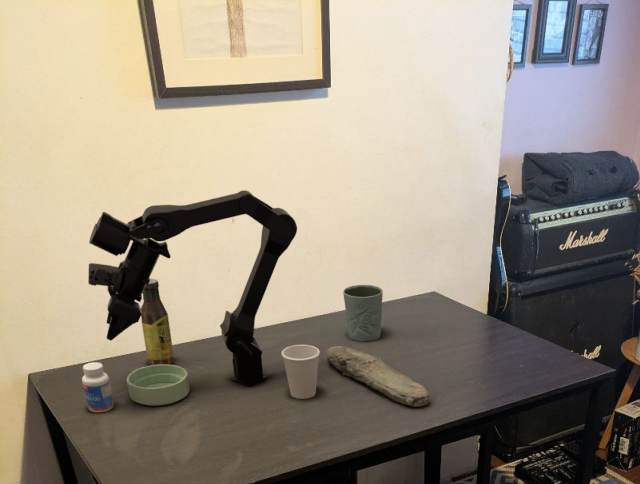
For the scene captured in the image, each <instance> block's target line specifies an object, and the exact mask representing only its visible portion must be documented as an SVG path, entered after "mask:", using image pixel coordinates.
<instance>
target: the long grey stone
mask: <svg viewBox="0 0 640 484" xmlns="http://www.w3.org/2000/svg"><path fill="white" fill-rule="evenodd" d="M326 361H327V363H330V364H331V365H332V366H333V367H335V369H337V370H339V371H340V372H342V376H347V377H349V378H353V379H354V380H356V381H358V382H360V383H364V384H366V385H367V386H369V387H370V388H371V389H372V390H376V391H378V392H380V393H382V394H383V395H384V396H386V397H388V398H390V399H392V400H393V401H394V402H397V403H401V405H407V406H409V407H414V408H416V407H424V406H426V405H428V404H429V402H430V393H429V392H428V390H427V389H426V387H424V386H423V385H422V384H421V383H418V382H416V381H414V380H413V379H411V378H410V377H409V376H407V375H406V374H403V373H401V372H400V371H397V370H396V369H394V368H393V367H391V366H390V365H388V364H386V363H385V361H384V360H382V358H380V357H376V356H374V355H372V354H371V353H370V354H369V353H367V352H366V351H361V350H359V349H354V348H351V347H348V346H344V345H336V346H335V345H333V346H330V347H329V348H328V349H327V350H326Z"/></svg>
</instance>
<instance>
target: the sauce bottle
mask: <svg viewBox="0 0 640 484" xmlns="http://www.w3.org/2000/svg"><path fill="white" fill-rule="evenodd" d="M159 287H160V284H159V281H158V279H156V278H150V282H149V284H148V285H147V284H146V286H145V288H144V291H143V293H142V300H143V303H142V305H141V306H140V308H141V314H142V315H141V317H140V319H141V327H142V334H143V340H144V346H145V353H146V357H147V358H148V359H147V361H148V363H149V366H150V365H159V364H170V365H172V364H173V362H174V348H173V341H172V334H171V328H170V327H171V326H170V320H169V314H168V311H167V309H166V308H165V306H164V303H163V302H162V300H161V296H160V289H159Z"/></svg>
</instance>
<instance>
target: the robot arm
mask: <svg viewBox="0 0 640 484" xmlns="http://www.w3.org/2000/svg"><path fill="white" fill-rule="evenodd" d="M243 215H247V216H249V217H250V218H251V219H253V220H254V221H256V222H257V223H258V224H260V225H261V226H262V228H261V237H260V239H261V240H260V247H259V250H258V253H257V256H256V258H255V260H254V263H253V265H252V268H251V271H250V273H249V276H248V279H247V282H246V283H245V286H244V289H243V291H242V294H241V297H240V299H239V302H238V304H237V306H236V308H235V309H234V310H232V312H230V311H229V310H225V313H224V317H223V318H224V319H223V321H222V323H221V324H220V325H219V328H220V330H221V332H220V334H221V337H222V339H223V342H224V344H225V347H226V349H227V350H228V351H229V352H230V353H231V354H232V367H233V374H234V375H233V376H230V378H229V380H230V381H232V382H235V383H237V384H240V385H242V386H245V387H253V386H254V385H256V384H258V383H261V382H263V381H265V380H267V379H269V375H268V374H266V373H264V369H263V358H262V355H263V350H262V349H261V347H260V344H259V343H258V340H257V339H256V338H255V336H254V333H255V324H256V323H255V322H256V316H257V313H258V311H259V308H260V306H261V303H262V301H263V299H264V296H265V294H266V291H267V288H268V286H269V283H270V281H271V278H272V276H273V274H274V270H275V269H276V266H277V263H278V261H279V258H280V257H281V256H282V255H283V254H284V253H285V251H287V250H288V248H289V247H290V245H291V243H292V242H293V240H294V239H295V237H296V235H297V232H298V226H297V222H296V220H295V218H294V217H293V216H291V214H290V213H288V211H287V210H285V209H284V208H281V207H272V206H271V205H269V204H268V203H266V202H265V201H263V200H261V199H260V198H258V197H257V196H254V195H253V194H252V192H250V191H249V190H245V189H243V190H240V191H238V192H235V193H232V194H227V195H223V196H219V197H215V198H210V199H205V200H202V201H197V202H193V203H189V204H182V205H179V204H177V205H176V204H157V205H155V204H154V205H149V206H148V207H147V208H145V209H144V211H143V213H142V215H141V216H137V217H136V218H134V219H132V220H130V221H127V223H126V222H123V221H122V220H119V219H118V218H115V217H114V216H113V215H111V214H110V213H108V212H106V211H102V213H101V214H100V217H99V218H98V220H97V222H96V223H95V224H94V226H93V228H92V231H91V234H90V237H89V242H88V243H89V244H90V245H92V246H94V247H96V248H98V249H100V250H103V251H105V252H106V253H108V254H111V255H113V256H115V257H118V256H119V255H120V256H122V255H125V254H126V256H125V258H124V260H122V261H120V262H119V264H118V266H114V265H109V264H104V263H103V264H102V263H96V262H94V263H93V262H90V263H89V264H88V283H87V284H88V285H90V286H95V287H96V286H103V287H107V293H108V294H109V296H110V297H109V300H108V304H107V317H106V324H108V329H107V334H106V340H108V341H113V340H115V338H117V337H118V336H119V335H121V334H122V333H123V332H125V331H126V330H127V329H128V328H130V327H131V326H133V325H135V324H137V323H139V321H140V319H141V315H142V314H141V306H140V304H139V303H141V301H142V300H143V291H144V288H145V286H146V284H147V285H148V284H149V282H150V279H151V276H152V273H153V271H154V268H155V267H156V265H157V262H158V260H159V258H160V256H162V257H164V258H166V259H171V258H172V257H171V256H172V255H171V253H170V250H169V249H168V248H169V246H168V242H167V240H170V239H172V238H174V237H176V236H178V235H179V236H180V234H182V233H184V232H185V231H186V230H188V229H191V228H193V227H197V226H201V225H206V224H209V223H214V222H218V221H222V220H226V219H231V218H234V217H238V216H243ZM130 243H131V244H130ZM128 248H129V249H128ZM127 250H128V251H127ZM126 252H127V253H126Z"/></svg>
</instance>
